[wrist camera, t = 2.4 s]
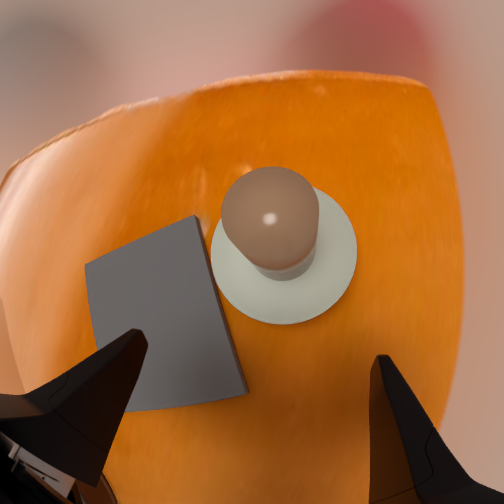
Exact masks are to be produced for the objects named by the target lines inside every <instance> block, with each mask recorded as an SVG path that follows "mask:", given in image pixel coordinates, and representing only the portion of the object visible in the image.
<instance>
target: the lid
mask: <svg viewBox="0 0 504 504" xmlns="http://www.w3.org/2000/svg"><path fill="white" fill-rule="evenodd" d="M356 260H357V244H356V237H355V233H354V230H353V227H352V225H351V222H350V220H349V218H348V217H347V215H346V213H345V212H344V211H343V209H342V208H341V207H340V206H339V205H338V204H337V203H336V202H335V201H334V200H333V199H332V198H331V197H329V196H328V195H327V194H325V193H324V192H322V191H320V190H318V189H316V188H314V187H312V186H311V184H310V183H309V182H308V181H307V180H306V179H305V178H304V177H303V176H301V175H300V174H298V173H296V172H294V171H292V170H290V169H286V168H282V167H263V168H259V169H256V170H253V171H251V172H248V173H246V174H245V175H243V176H242V177H240V178H239V179H238V180H237V181H236V182H235V183H234V184H233V185H232V186H231V187H230V189H229V190H228V192H227V193H226V196H225V198H224V200H223V204H222V209H221V219H220V221H219V223H218V225H217V227H216V230H215V232H214V236H213V239H212V245H211V264H212V270H213V274H214V277H215V279H216V282H217V284H218V286H219V288H220V290H221V292H222V293H223V294H224V296H225V297H226V298H227V300H228V301H229V302H230V303H231V304H232V305H233V306H234V307H235V308H237V309H238V310H239V311H241V312H242V313H244V314H246V315H247V316H249V317H251V318H254V319H256V320H259V321H262V322H266V323H271V324H294V323H299V322H303V321H306V320H309V319H312V318H314V317H316V316H318V315H320V314H321V313H323V312H324V311H326V310H327V309H329V308H330V307H331V306H332V305H333V304H334V303H336V302H337V300H338V299H339V298H340V297H341V296H342V295H343V293H344V292H345V290H346V289H347V287H348V285H349V283H350V281H351V279H352V277H353V273H354V270H355V266H356Z"/></svg>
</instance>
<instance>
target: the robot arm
mask: <svg viewBox="0 0 504 504" xmlns="http://www.w3.org/2000/svg"><path fill="white" fill-rule="evenodd" d="M147 350H148V341H147V339H146V337H145V335H144V333H143V331H142V330H140V329H136V328H132V329H130V330H129V331H127V332H126V333H124V334H123V335H121V336H120V337H118V338H117V339H115V340H113V341H112V342H110V343H109V344H107V345H106V346H104V347H103V348H101V349H100V350H98V351H97V352H95V353H94V354H92V355H91V356H89V357H88V358H86V359H85V360H83V361H82V362H80V363H78V364H77V365H75V366H74V367H72V368H71V369H70V370H68V371H66V372H65V373H63V374H62V375H60V376H58V377H57V378H55V379H53V380H52V381H50V382H48V383H46V384H44V385H43V386H41V387H39V388H37V389H35V390H33V391H31V392H29V393H27V394H23V395H9V394H0V504H83V501H82V499H81V496H80V493H79V490H78V487H77V484H76V483H75V481H76V479H77V480H79V481H81V482H83V483H85V484H87V485H90V486H92V487H94V488H96V487H97V485H98V482H99V479H100V476H101V473H102V471H103V468H104V465H105V462H106V459H107V457H108V453H109V451H110V448H111V445H112V443H113V440H114V437H115V435H116V432H117V430H118V427H119V425H120V422H121V419H122V417H123V414H124V412H125V409H126V407H127V405H128V402H129V400H130V397H131V395H132V392H133V390H134V388H135V385H136V383H137V381H138V378H139V375H140V372H141V369H142V366H143V362H144V359H145V356H146V353H147ZM369 425H370V489H369V504H504V493H501V492H499V491H496V490H494V489H491V488H489V487H486V486H484V485H482V484H479V483H478V482H476V481H474V480H473V479H472V478H471V477H470V476H469V475H468V474H467V473H466V472H465V470H464V469H463V468H462V466H461V465H460V464H459V462H458V461H457V460H456V458H455V457H454V456H453V454H452V453H451V452H450V450H449V449H448V447H447V446H446V445H445V443H444V441H443V440H442V438H441V437H440V435H439V433H438V432H437V430H436V428H435V427H433V426H434V425H433V423H432V422H431V420H430V419H429V417H428V415H427V414H426V412H425V410H424V409H423V407H422V406H421V404H420V402H419V401H418V399H417V398H416V396H415V394H414V393H413V391H412V390H411V388H410V387H409V385H408V384H407V382H406V381H405V379H404V378H403V376H402V375H401V373H400V371H399V370H398V368H397V367H396V366H395V364H394V363H393V361H392V360H391V358H390V357H389V356H388V355H377V356H376V358H375V361H374V363H373V365H372V368H371V373H370V398H369Z"/></svg>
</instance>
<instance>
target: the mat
mask: <svg viewBox="0 0 504 504" xmlns="http://www.w3.org/2000/svg"><path fill="white" fill-rule="evenodd" d="M85 275H86V285H87V293H88V300H89V307H90V314H91V320H92V325H93V331H94V336H95V341H96V345H97V350H100V349H101V348H103V347H104V346H106V345H107V344H109V343H110V342H112V341H113V340H115V339H117V338H118V337H120V336H121V335H123V334H124V333H126V332H127V331H129V330H130V329H132V328H136V329H140V330H142V331H143V333H144V335H145V337H146V339H147V341H148V350H147V353H146V356H145V359H144V362H143V366H142V369H141V372H140V375H139V378H138V381H137V383H136V385H135V388H134V390H133V392H132V395H131V397H130V400H129V402H128V405H127V407H126V409H125V412H134V411H146V410H157V409H166V408H174V407H181V406H188V405H194V404H200V403H206V402H212V401H217V400H222V399H227V398H232V397H236V396H241V395H245V394H247V393H248V392H249V391H248V388H247V385H246V382H245V379H244V376H243V373H242V370H241V367H240V363H239V360H238V357H237V354H236V351H235V348H234V345H233V341H232V338H231V335H230V332H229V328H228V325H227V322H226V318H225V315H224V311H223V308H222V305H221V301H220V298H219V294H218V291H217V287H216V284H215V280H214V276H213V273H212V269H211V265H210V262H209V258H208V254H207V251H206V247H205V243H204V239H203V235H202V231H201V227H200V223H199V219H198V218H197V217H196V216H195V215H193V216H190V217H188V218H185V219H183V220H181V221H178V222H176V223H174V224H171V225H169V226H167V227H164V228H162V229H160V230H158V231H155V232H153V233H151V234H149V235H146V236H144V237H142V238H140V239H137V240H135V241H133V242H131V243H129V244H127V245H124V246H122V247H120V248H118V249H116V250H114V251H112V252H110V253H108V254H106V255H103V256H101V257H99V258H97V259H95V260H93V261H91V262H89V263H87V264H85Z"/></svg>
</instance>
